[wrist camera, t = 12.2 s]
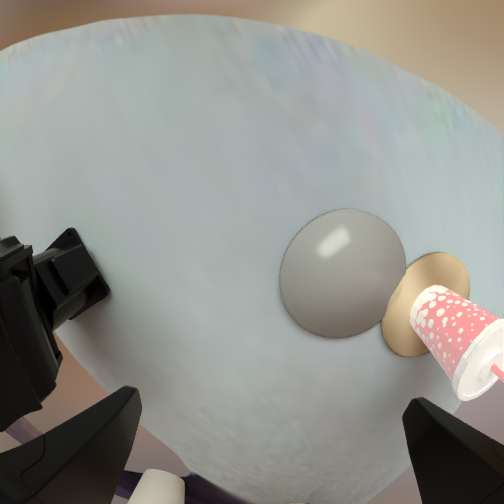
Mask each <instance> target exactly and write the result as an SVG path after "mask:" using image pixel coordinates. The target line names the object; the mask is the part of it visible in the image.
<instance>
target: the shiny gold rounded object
mask: <svg viewBox="0 0 504 504" xmlns="http://www.w3.org/2000/svg"><path fill="white" fill-rule="evenodd" d="M433 285H441V286H443V287H445V288H447V289H449V290H451V291H452V292H454V293H456V294H458V295H460V296H461V297H463V298H465V299H467V300H469V294H470V281H469V276H468V273H467V270H466V268H465V266H464V265H463V263H462V262H461V261H460V260H459V259H457V258H456V257H454V256H452V255H450V254H447V253H444V252H433V253H429V254H426V255H424V256H421V257H420V258H418V259H416V260H415V261H413V262H412V263H411V264H410V265H408V266H407V267H406V274H405V275H404V277H403V278H402V279H401V281H400V283H399V284H398V285H397V286H396V287H397V288H395V290H394V294H393V295H391V296H392V297H390V299H389V302H388V305H387V309H386V314H385V315H386V316H384V318H383V319H382V320H381V329H382V334H383V337H384V339H385V341H386V342H387V344H388V345H389V346H390V348H391V349H392V350H393V351H394V352H396V353H397V354H400V355H402V356H407V357H414V356H420V355H424V354H426V353H429V352H430V350H429V349H428V348H427V346H426V345H425V343H424V342H423V341H422V339H421V338H420V337H419V335H418V334H417V333H416V332H415V330H414V329H413V327H412V325H411V323H410V312H411V309H412V306H413V304H414V302H415V301H416V299H417V297H418V296H419V295H420V294H421V293H422V292H423V291H424V290H425V289H426V288H429V287H431V286H433ZM400 288H401V289H400ZM398 293H400V294H398ZM396 296H397V297H396Z"/></svg>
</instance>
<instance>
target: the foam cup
mask: <svg viewBox="0 0 504 504" xmlns="http://www.w3.org/2000/svg"><path fill="white" fill-rule="evenodd" d="M184 486H185V483H184V481H183V480H182V479H181V478H179V477H178V476H176V475H174V474H172V473H169V472H166V471H162V470H156V469H148V470H146V471H145V472H144V474H143V476H142V478H141V479H140V481H139V483H138V485H137V487H136V489H135V490H134V492H133V494H132V496H131V498H130V500H129V502H128V503H127V504H184V496H185V487H184Z"/></svg>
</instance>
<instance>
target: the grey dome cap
mask: <svg viewBox="0 0 504 504" xmlns="http://www.w3.org/2000/svg"><path fill="white" fill-rule="evenodd" d="M405 274H406V258H405V252H404V249H403V245H402V243H401V241H400V239H399V237H398V235H397V234H396V232H395V231H394V230H393V228H392V227H391V226H390V225H389V224H388V223H387V222H385V221H384V220H383V219H381V218H380V217H378V216H376V215H374V214H372V213H369V212H365V211H362V210H357V209H340V210H334V211H331V212H327V213H325V214H322V215H320V216H318V217H316V218H315V219H313V220H312V221H310V222H309V223H308V224H306V225H305V226H304V227H303V228H302V229H301V230H300V231H299V232H298V233H297V234H296V235H295V237H294V238H293V239H292V241H291V242H290V244H289V246H288V248H287V250H286V252H285V254H284V257H283V260H282V264H281V268H280V289H281V294H282V298H283V301H284V304H285V306H286V308H287V310H288V312H289V313H290V315H291V316H292V318H293V319H294V320H295V321H296V322H297V323H298V324H299V325H300V326H302V327H303V328H304V329H306V330H308V331H310V332H312V333H314V334H317V335H320V336H324V337H332V338H340V337H348V336H352V335H355V334H358V333H361V332H363V331H365V330H367V329H369V328H371V327H372V326H374V325H375V324H377V323H378V322H379V321H380V320H382V319H383V318H384V316H386V315H385V314H386V309H387V305H388V302H389V299H390V297H392V296H391V295H393V294H394V290H395V288H397V287H396V286H397V285H398V284H399V283H400V281H401V279H402V278H403V277H404V275H405ZM400 289H401V288H400ZM398 294H400V293H398ZM396 297H397V296H396Z"/></svg>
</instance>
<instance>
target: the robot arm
mask: <svg viewBox="0 0 504 504" xmlns="http://www.w3.org/2000/svg"><path fill="white" fill-rule="evenodd" d="M70 232H71V234H72V235H70ZM32 253H33V249H32V245H24V244H21V243H20V242H19V241H18V239H17V238H16V237H15V236H10V237H7V238H4V239H1V240H0V432H3V431H5V430H6V429H7V428H8V427H9V426H10V425H11V424H13V423H14V422H15V421H16V420H18V419H19V418H20V417H22V416H24V415H26V414H28V413H30V412H34V411H38V410H41V409H42V405H41V402H42V401H43V400H45V398H46V397H47V396H49V395H50V394H51V393H52V391H53V390H54V389H55V387H56V382H55V380H56V377H57V374H58V370H59V367H60V364H61V362H62V360H63V356H62V353H61V352H60V351H59V349H58V346H57V343H56V341H55V338H54V335H53V332H54V331H55V330H56V329H57V328H58V327H59V326H61V325H62V324H63V323H64V322H65V321H66V320H68V319H69V320H72V319H73V318H75V317H76V316H78V315H79V314H81V313H82V312H84V311H85V310H87V309H88V308H90V307H91V306H93V305H94V304H96V303H97V302H99V301H100V300H102V299H103V298H105V297H106V296H107V295H109V293H110V289H109V287H108V285H107V284H106V282H105V281H104V279H103V277H102V276H101V274H100V272H99V271H98V269H97V267H96V266H95V264H94V262H93V261H92V259H91V257H90V256H89V254H88V252H87V250H86V249H85V247H84V245H83V243H82V241H81V240H80V238H79V236H78V234H77V232H76V230H75V229H74V228H72V227H71V228H68V229H66V230H65V231H64V232H63V233H62V234H61V235H60V236H59V237H58V238H57V239H56V240H55V241H54V242H53V243H52V244H51V245H50V246H49V247H48V248H47V249H46V250H45V251H44V252H42V253H40V254H38V255H35V256H32ZM103 289H104V290H105V292H104V291H103ZM141 412H142V403H141V399H140V394H139V391H138V389H137V388H134V387H130V386H124V387H122V388H120V389H119V390H117V391H116V392H114V393H112V394H111V395H109V396H108V397H106V398H104V399H103V400H101V401H99V402H98V403H96V404H95V405H93V406H91V407H90V408H88V409H86V410H85V411H83V412H81V413H79V414H78V415H76V416H74V417H73V418H71V419H69V420H68V421H66V422H64V423H62V424H61V425H59V426H57V427H55V428H53V429H52V430H50V431H48V432H46V433H45V434H43V435H41V436H39V437H37V438H35V439H33V440H31V441H29V442H27V443H25V444H23V445H21V446H19V447H16V448H13V449H11V450H8V451H5V452H3V453H0V504H111V501H112V499H113V496H114V494H115V491H116V488H117V486H118V483H119V481H120V478H121V475H122V473H123V470H124V467H125V465H126V463H127V460H128V457H129V455H130V452H131V450H132V446H133V442H134V439H135V435H136V431H137V427H138V423H139V420H140V416H141ZM402 420H403V425H404V430H405V435H406V440H407V446H408V451H409V455H410V459H411V462H412V465H413V469H414V473H415V476H416V480H417V484H418V487H419V491H420V496H421V500H422V504H504V445H503V444H501V443H499V442H497V441H495V440H494V439H491V438H490V437H488V436H487V435H485V434H483V433H481V432H480V431H478V430H476V429H474V428H473V427H471V426H470V425H468V424H466V423H464V422H463V421H461V420H459V419H458V418H456V417H454V416H453V415H451V414H450V413H448V412H446V411H445V410H443V409H441V408H440V407H438V406H436V405H435V404H433V403H432V402H430V401H428V400H427V399H425V398H423V397H419V398H414V399H412V400H411V401H410V403H409V405H408V407H407V408H406V410H405V412H404V414H403V417H402Z"/></svg>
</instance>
